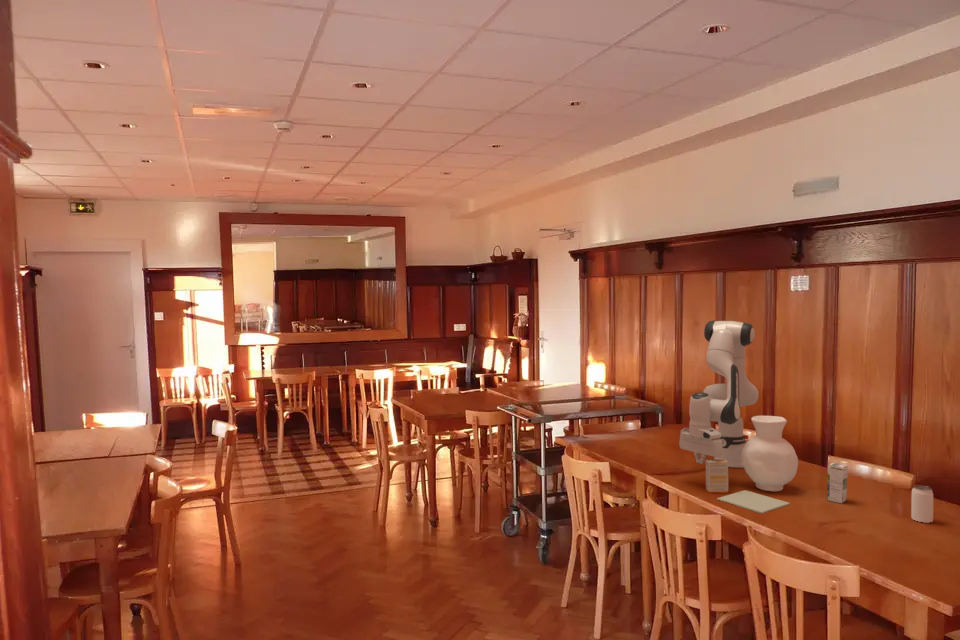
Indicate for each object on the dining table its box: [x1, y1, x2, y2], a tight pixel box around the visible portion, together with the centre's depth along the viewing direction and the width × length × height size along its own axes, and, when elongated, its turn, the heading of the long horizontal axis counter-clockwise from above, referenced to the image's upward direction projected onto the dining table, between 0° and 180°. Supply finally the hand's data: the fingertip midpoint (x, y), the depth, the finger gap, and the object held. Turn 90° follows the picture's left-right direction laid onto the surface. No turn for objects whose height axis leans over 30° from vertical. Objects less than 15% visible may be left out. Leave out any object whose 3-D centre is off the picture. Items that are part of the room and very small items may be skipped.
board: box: [716, 489, 791, 514], centre depth 257 cm, size 18×20×1 cm
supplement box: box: [705, 458, 729, 494], centre depth 271 cm, size 8×5×13 cm, turn 84°
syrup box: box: [826, 462, 849, 504], centre depth 256 cm, size 6×6×14 cm
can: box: [910, 484, 934, 524], centre depth 233 cm, size 6×6×12 cm
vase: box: [741, 415, 799, 492], centre depth 273 cm, size 19×21×30 cm
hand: (700, 463), depth 278 cm, fingers closed
